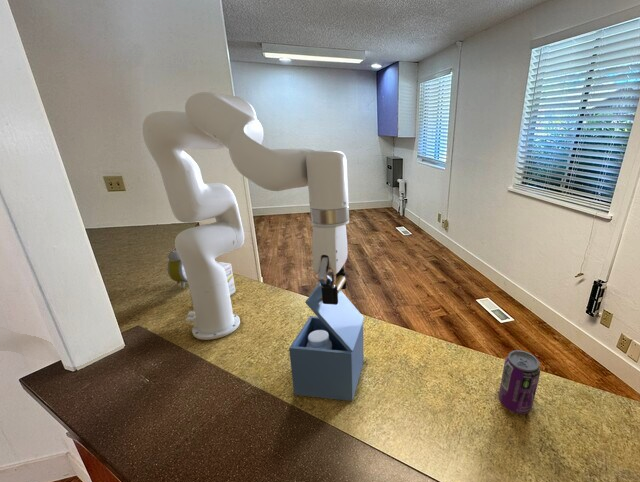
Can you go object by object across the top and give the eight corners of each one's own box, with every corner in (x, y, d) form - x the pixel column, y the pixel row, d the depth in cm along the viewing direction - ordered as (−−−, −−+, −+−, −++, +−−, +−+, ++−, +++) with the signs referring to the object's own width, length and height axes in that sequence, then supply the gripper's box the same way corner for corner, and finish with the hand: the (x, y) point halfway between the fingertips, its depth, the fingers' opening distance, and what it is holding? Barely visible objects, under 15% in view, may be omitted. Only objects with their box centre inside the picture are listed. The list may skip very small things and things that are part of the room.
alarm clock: (185, 290, 113) (176, 253, 108) (167, 290, 113) (157, 252, 108) (204, 277, 124) (197, 242, 119) (187, 276, 124) (179, 242, 119)
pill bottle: (325, 386, 71) (323, 346, 67) (302, 379, 72) (298, 341, 68) (337, 368, 76) (336, 330, 72) (316, 362, 78) (313, 325, 74)
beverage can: (528, 422, 64) (539, 376, 60) (494, 406, 67) (502, 362, 63) (533, 399, 69) (544, 356, 65) (502, 386, 73) (509, 344, 69)
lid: (304, 302, 60) (325, 288, 59) (324, 275, 72) (342, 263, 71) (350, 353, 63) (370, 341, 62) (362, 319, 75) (379, 308, 74)
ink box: (219, 303, 105) (214, 272, 101) (198, 300, 107) (192, 269, 103) (236, 291, 113) (231, 262, 109) (216, 288, 115) (211, 260, 111)
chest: (293, 394, 69) (288, 348, 65) (313, 357, 81) (310, 315, 76) (352, 401, 68) (351, 354, 63) (363, 362, 79) (363, 320, 75)
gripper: (325, 206, 69) (330, 278, 75) (294, 226, 53) (303, 316, 59) (357, 207, 68) (360, 279, 74) (336, 227, 52) (341, 318, 58)
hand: (335, 295), depth 66 cm, fingers closed on lid, 6 cm apart
